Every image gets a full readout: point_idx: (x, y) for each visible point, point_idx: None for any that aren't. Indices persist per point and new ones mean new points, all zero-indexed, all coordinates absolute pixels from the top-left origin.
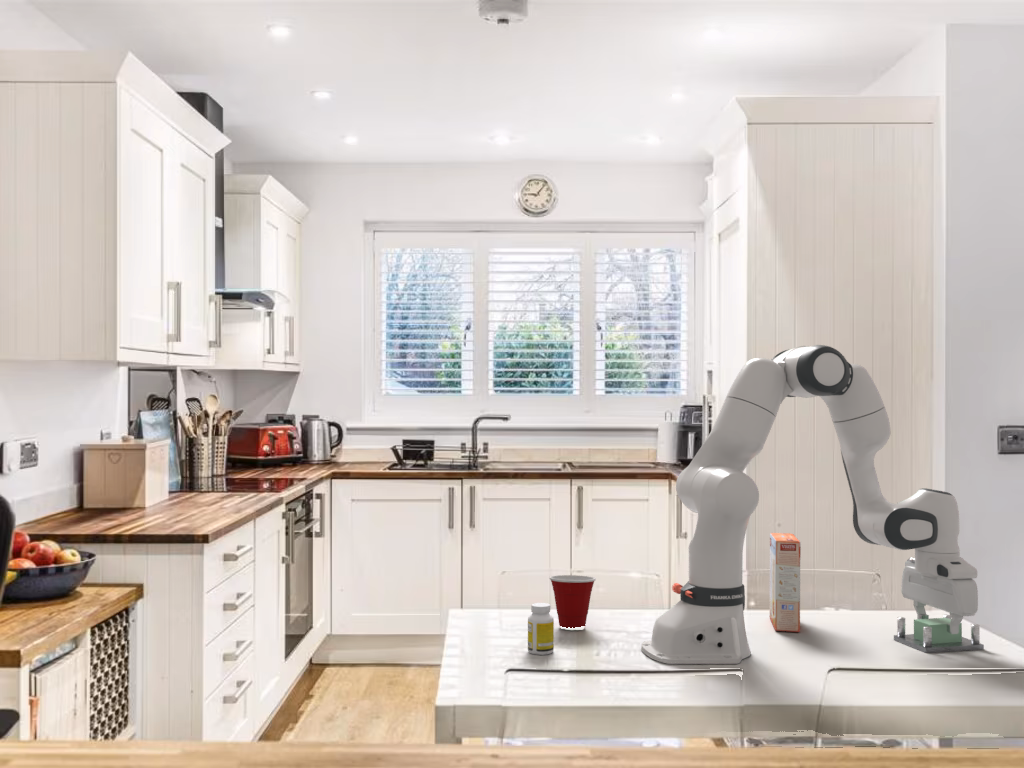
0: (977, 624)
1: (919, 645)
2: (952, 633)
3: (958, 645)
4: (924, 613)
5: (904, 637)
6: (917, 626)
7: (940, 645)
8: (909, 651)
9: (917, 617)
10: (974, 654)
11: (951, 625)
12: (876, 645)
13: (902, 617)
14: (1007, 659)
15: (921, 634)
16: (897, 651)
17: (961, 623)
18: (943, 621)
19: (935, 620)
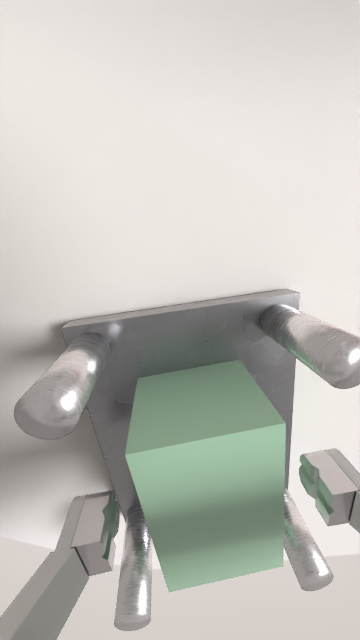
0: (138, 628)
1: (109, 321)
2: (74, 499)
3: (114, 464)
4: (355, 521)
5: (254, 323)
6: (236, 403)
7: (113, 407)
8: (94, 259)
9: (352, 465)
10: (67, 470)
11: (52, 553)
12: (211, 134)
13: (357, 378)
14: (16, 525)
15: (195, 385)
16: (90, 193)
17: (168, 588)
18: (210, 541)
19: (236, 517)
